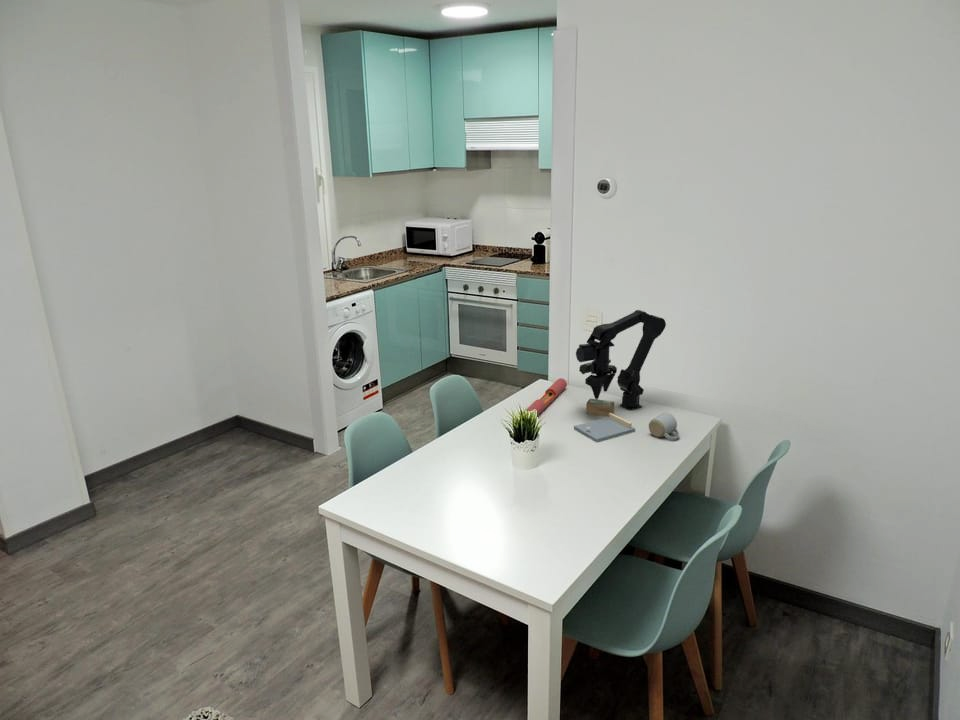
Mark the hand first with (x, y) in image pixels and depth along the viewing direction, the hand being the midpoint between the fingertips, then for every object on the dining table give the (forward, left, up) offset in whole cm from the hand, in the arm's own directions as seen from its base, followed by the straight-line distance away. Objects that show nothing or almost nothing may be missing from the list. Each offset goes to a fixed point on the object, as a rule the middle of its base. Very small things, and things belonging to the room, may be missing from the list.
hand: (600, 395), depth 263 cm
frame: (0, 0, -8) cm, 8 cm away
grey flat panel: (+9, +14, -8) cm, 18 cm away
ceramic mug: (-7, +29, -8) cm, 31 cm away
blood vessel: (+13, -20, -8) cm, 25 cm away
